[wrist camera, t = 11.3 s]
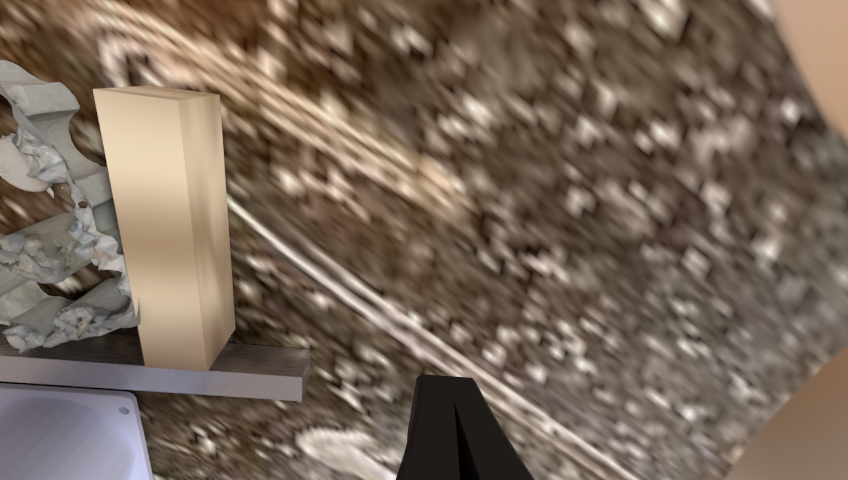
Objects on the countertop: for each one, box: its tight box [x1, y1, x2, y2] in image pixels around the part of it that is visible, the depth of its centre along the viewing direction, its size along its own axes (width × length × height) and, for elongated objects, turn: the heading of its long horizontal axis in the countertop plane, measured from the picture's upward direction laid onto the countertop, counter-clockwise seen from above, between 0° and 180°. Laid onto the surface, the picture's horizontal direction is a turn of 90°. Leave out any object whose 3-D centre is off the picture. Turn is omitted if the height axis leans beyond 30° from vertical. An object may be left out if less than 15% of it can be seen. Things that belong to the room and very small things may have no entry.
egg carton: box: [0, 60, 141, 353], centre depth 15 cm, size 11×8×4 cm
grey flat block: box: [0, 325, 312, 401], centre depth 16 cm, size 14×18×3 cm
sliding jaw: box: [93, 86, 236, 372], centre depth 16 cm, size 11×2×3 cm, turn 172°
